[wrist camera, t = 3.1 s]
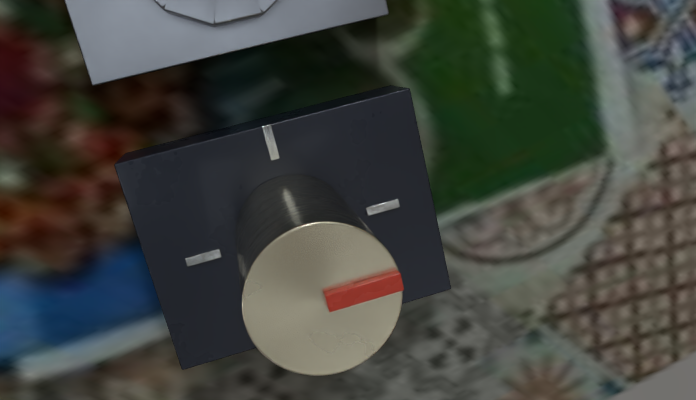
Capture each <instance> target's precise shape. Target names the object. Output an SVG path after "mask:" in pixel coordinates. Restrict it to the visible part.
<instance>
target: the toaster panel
mask: <svg viewBox="0 0 696 400" xmlns="http://www.w3.org/2000/svg"><path fill="white" fill-rule="evenodd" d="M114 166H115V169H116V172H117V175H118V178H119V181H120V184H121V187H122V190H123V193H124V196H125V199H126V202H127V205H128V208H129V211H130V214H131V217H132V220H133V223H134V226H135V229H136V232H137V235H138V238H139V241H140V244H141V247H142V250H143V253H144V257H145V260H146V263H147V266H148V269H149V272H150V275H151V278H152V281H153V284H154V287H155V290H156V293H157V296H158V299H159V302H160V305H161V308H162V311H163V314H164V317H165V320H166V323H167V326H168V329H169V332H170V335H171V338H172V341H173V344H174V347H175V350H176V353H177V356H178V359H179V362H180V365H181V368H182V370H184V369H187V368H191V367H194V366H197V365H201V364H204V363H207V362H211V361H214V360H217V359H221V358H224V357H227V356H231V355H234V354H237V353H240V352H244V351H247V350H250V349H254V348H257V347H256V346H255V345H254V343H253V342H252V340H251V338H250V337H249V335H248V333H247V330H246V328H245V325H244V321H243V317H242V309H241V297H240V285H239V272H238V260H237V248H236V236H235V230H236V222H237V217H238V215H239V212H240V209H241V207H242V205H243V204H244V202H245V201H246V199H247V198H248V197H249V195H250V194H251V193H252V192H253V191H254V190H255V189H257V188H258V187H259V186H260V185H262V184H263V183H265V182H267V181H269V180H271V179H273V178H276V177H279V176H283V175H290V174H302V175H308V176H312V177H315V178H318V179H320V180H322V181H324V182H326V183H327V184H329V185H330V186H332V187H333V188H334V189H335V190H336V191H337V192H338V193H339V194H340V195H341V196H342V198H343V199H344V200H345V201H346V202H347V203H348V204H349V206H350V207H351V208H352V209H353V210H354V211H355V213H356V214H357V215H358V216H359V217H360V218H361V219H362V221H363V222H364V223H365V224H366V225H367V226H368V228H369V229H370V230H371V231H372V232H373V233H374V234H375V236H376V237H377V238H378V239H379V240H380V241H381V242H382V244H383V245H384V246H385V247H386V248H387V249H388V251H389V252H390V254H391V255H392V257H393V258H394V260H395V262H396V264H397V267H398V269H399V272H400V274H401V278H402V282H403V286H404V290H403V299H402V304H403V303H406V302H410V301H413V300H416V299H420V298H423V297H426V296H429V295H433V294H436V293H439V292H443V291H446V290H449V289H451V285H450V281H449V276H448V271H447V266H446V261H445V256H444V252H443V247H442V242H441V237H440V232H439V228H438V223H437V218H436V213H435V208H434V204H433V199H432V194H431V189H430V184H429V179H428V175H427V170H426V165H425V160H424V155H423V151H422V146H421V141H420V136H419V131H418V126H417V122H416V117H415V112H414V107H413V102H412V98H411V93H410V89H409V88H403V87H397V86H391V85H390V86H386V87H382V88H378V89H374V90H371V91H367V92H363V93H359V94H355V95H351V96H347V97H343V98H339V99H335V100H331V101H328V102H324V103H320V104H316V105H312V106H308V107H304V108H300V109H296V110H292V111H289V112H285V113H281V114H277V115H273V116H269V117H265V118H261V119H257V120H253V121H249V122H246V123H242V124H238V125H234V126H230V127H226V128H222V129H218V130H214V131H210V132H206V133H203V134H199V135H195V136H191V137H187V138H183V139H179V140H175V141H171V142H167V143H163V144H160V145H156V146H152V147H148V148H144V149H140V150H136V151H132V152H128V153H125V154H124V155H123V156H122V157H121V158H120V159H119V160H118V161H117V162H116V163H115V164H114Z"/></svg>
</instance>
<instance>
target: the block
mask: <svg viewBox="0 0 696 400" xmlns="http://www.w3.org/2000/svg"><path fill="white" fill-rule="evenodd" d="M64 2H65V5H66V8H67V11H68V14H69V17H70V20H71V23H72V26H73V29H74V32H75V35H76V38H77V41H78V44H79V47H80V50H81V53H82V56H83V59H84V62H85V65H86V68H87V71H88V74H89V77H90V80H91V83H92V85H93V86H95V85H99V84H104V83H108V82H112V81H116V80H120V79H124V78H129V77H133V76H137V75H141V74H145V73H149V72H153V71H158V70H162V69H166V68H170V67H174V66H178V65H182V64H187V63H191V62H195V61H199V60H203V59H207V58H211V57H216V56H220V55H224V54H228V53H232V52H236V51H240V50H245V49H249V48H253V47H257V46H261V45H265V44H269V43H274V42H278V41H282V40H286V39H290V38H294V37H298V36H303V35H307V34H311V33H315V32H319V31H323V30H327V29H332V28H336V27H340V26H344V25H348V24H352V23H356V22H361V21H365V20H369V19H373V18H377V17H381V16H385V15H388V14H389V12H388V7H387V2H386V0H64Z"/></svg>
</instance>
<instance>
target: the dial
mask: <svg viewBox="0 0 696 400" xmlns="http://www.w3.org/2000/svg"><path fill="white" fill-rule="evenodd" d="M235 236H236V248H237V260H238V272H239V285H240V297H241V309H242V317H243V321H244V325H245V328H246V330H247V333H248V335H249V337H250V338H251V340H252V342H253V343H254V345H255V346H256V347H257V349H258V350H259V351H260V352H261V353H262V354H263V355H264V356H265V357H266V358H267V359H269V360H270V361H271V362H273V363H274V364H276V365H278V366H280V367H281V368H283V369H286V370H289V371H291V372H294V373H298V374H302V375H311V376H324V375H332V374H336V373H340V372H344V371H346V370H349V369H352V368H354V367H356V366H358V365H360V364H362V363H363V362H364V361H366V360H367V359H369V358H370V357H371V356H373V355H374V354H375V353H376V352H377V351H378V350H379V349H380V348H381V347H382V346H383V345H384V344H385V342H386V341H387V339H388V338H389V337H390V335H391V333H392V332H393V330H394V328H395V326H396V323H397V321H398V318H399V315H400V311H401V307H402V299H403V290H404V286H403V282H402V278H401V274H400V272H399V269H398V267H397V264H396V262H395V260H394V258H393V257H392V255H391V254H390V252H389V251H388V249H387V248H386V247H385V246H384V245H383V244H382V242H381V241H380V240H379V239H378V238H377V237H376V236H375V234H374V233H373V232H372V231H371V230H370V229H369V228H368V226H367V225H366V224H365V223H364V222H363V221H362V219H361V218H360V217H359V216H358V215H357V214H356V213H355V211H354V210H353V209H352V208H351V207H350V206H349V204H348V203H347V202H346V201H345V200H344V199H343V198H342V196H341V195H340V194H339V193H338V192H337V191H336V190H335V189H334V188H333V187H332V186H330V185H329V184H327V183H326V182H324V181H322V180H320V179H318V178H315V177H312V176H308V175H302V174H290V175H283V176H279V177H276V178H273V179H271V180H269V181H267V182H265V183H263V184H262V185H260V186H259V187H258V188H257V189H255V190H254V191H253V192H252V193H251V194H250V195H249V197H248V198H247V199H246V201H245V202H244V204H243V205H242V207H241V209H240V212H239V215H238V217H237V222H236V230H235Z"/></svg>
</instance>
